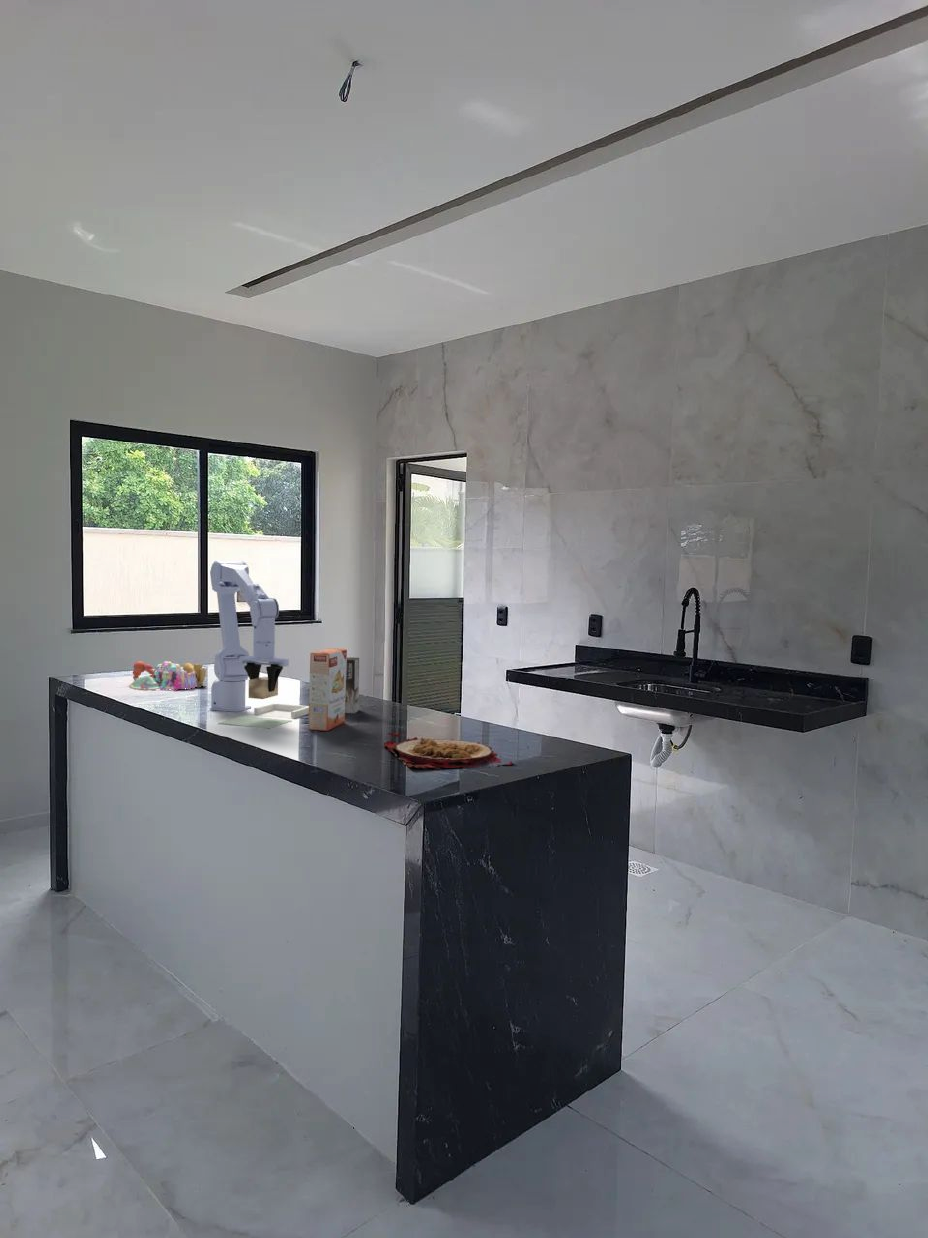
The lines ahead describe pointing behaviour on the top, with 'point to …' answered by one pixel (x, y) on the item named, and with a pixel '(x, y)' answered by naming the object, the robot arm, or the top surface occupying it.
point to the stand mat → (254, 722)
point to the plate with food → (441, 753)
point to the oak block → (261, 688)
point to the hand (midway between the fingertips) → (263, 690)
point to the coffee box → (352, 685)
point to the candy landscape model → (168, 676)
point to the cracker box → (327, 689)
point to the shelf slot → (282, 710)
